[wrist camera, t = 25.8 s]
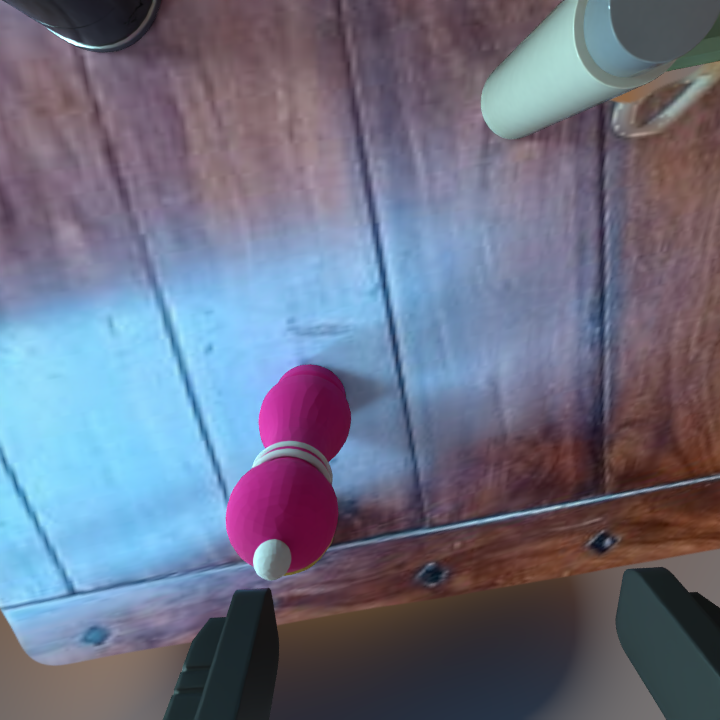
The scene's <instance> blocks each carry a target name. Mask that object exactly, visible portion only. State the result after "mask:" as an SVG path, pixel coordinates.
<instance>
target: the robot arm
mask: <svg viewBox="0 0 720 720" xmlns="http://www.w3.org/2000/svg"><path fill="white" fill-rule="evenodd" d="M2 1H4V2H6V3H7V4H9V5H11V6H12V7H14V8H16V9H17V10H19V11H21V12H22V13H24V14H25V15H27V16H29V17H30V18H32V19H33V20H35V21H37V22H38V23H40V24H42V25H44V26H45V27H47V28H48V29H49V30H50V31H52V32H53V33H54V34H56V35H57V36H59V37H60V38H62V39H64V40H65V41H67V42H69V43H70V44H72V45H75V46H77V47H79V48H82V49H85V50H88V51H93V52H103V53H105V52H114V51H119V50H122V49H124V48H127V47H129V46H131V45H132V44H134V43H135V42H137V41H138V40H139V39H140V38H141V37H142V36H143V35H144V34H145V33H146V32H147V31H148V29H149V28H150V27H151V25H152V23H153V22H154V19H155V17H156V15H157V12H158V10H159V6H160V3H161V0H2ZM616 629H617V634H618V637H619V640H620V643H621V645H622V647H623V650H624V651H625V653H626V655H627V656H628V658H629V660H630V661H631V663H632V665H633V666H634V667H635V669H636V671H637V672H638V674H639V676H640V677H641V679H642V681H643V682H644V684H645V685H646V687H647V689H648V690H649V692H650V694H651V695H652V697H653V699H654V700H655V702H656V703H657V705H658V707H659V708H660V710H661V712H662V713H663V715H664V716H665V718H666V720H720V608H719V607H718V606H716V605H715V604H713V603H712V602H710V601H709V600H708V599H706V598H705V597H703V596H702V595H700V594H699V593H698V592H690V593H689V592H688V591H687V590H686V589H685V588H684V587H683V586H682V584H681V583H680V582H679V581H678V580H677V579H676V577H675V576H674V575H673V574H672V573H671V572H670V571H668V570H667V569H666V568H663V567H654V568H637V569H627V570H626V571H625V572H624V574H623V579H622V585H621V591H620V597H619V602H618V608H617V614H616ZM278 659H279V638H278V631H277V624H276V618H275V612H274V606H273V599H272V594H271V590H270V588H261V589H243V590H236V591H235V593H234V595H233V598H232V601H231V604H230V607H229V610H228V613H227V617H220V618H210V619H209V620H208V622H207V623H206V624H205V625H204V627H203V628H202V629H201V631H200V632H199V633H198V634H197V636H196V637H195V638H194V639H193V641H192V644H191V646H190V649H189V652H188V654H187V657H186V660H185V662H184V665H183V671H182V672H181V673H180V675H179V678H178V681H177V684H176V686H175V689H174V695H172V697H171V699H170V702H169V705H168V707H167V710H166V713H165V715H164V718H163V720H269V717H270V710H271V705H272V698H273V693H274V687H275V681H276V675H277V669H278Z"/></svg>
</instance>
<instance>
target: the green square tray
mask: <svg viewBox="0 0 720 720" xmlns="http://www.w3.org/2000/svg"><path fill="white" fill-rule="evenodd" d="M716 61H720V13H719V15H718V17H717V20H716V21H715V23H714V25H713V26H712V28H711V29H710V31H709V32H708V33H707V35H706V36H705V37H704V38H703V39H702V41H701V42H700V43H699V44H698V45H697V46H695V47H694V48H693V49H692V50H691V51H689V52H688V53H686V54H685V55H683V56H681V57H679V58H678V59H677V60H676V61H675V62H674V63H673V64H672V66H671V67H670V68H669V69H668V70H666V71H671V70H676V69H681V68H685V67H691V66H696V65H701V64H706V63H711V62H716ZM666 71H665V72H666Z"/></svg>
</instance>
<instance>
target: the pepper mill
mask: <svg viewBox="0 0 720 720" xmlns="http://www.w3.org/2000/svg"><path fill="white" fill-rule="evenodd" d="M350 424H351V412H350V408H349V404H348V402H347V400H346V394H345V390H344V386H343V384H342V382H341V381H340V379H339V378H338V377H337V376H336V375H335V374H334V373H333V372H331V371H330V370H328V369H326V368H324V367H321V366H317V365H301V366H298V367H295V368H293V369H291V370H289V371H288V372H287V373H285V374H284V375H283V376H282V378H281V379H280V381H279V382H278V384H276V385H275V386H274V387H273V388H272V389H271V390H270V391H269V392H268V393H267V395H266V396H265V398H264V400H263V403H262V406H261V410H260V414H259V430H260V436H261V440H262V443H263V445H264V447H265V449H264V450H263V451H262V452H261V453H260V454H259V455H258V456H257V458H256V459H255V461H254V463H253V466H252V469H251V470H249V471H248V472H247V473H246V474H245V475H244V476H243V477H241V479H240V480H239V482H238V483H237V485H236V486H235V488H234V489H233V491H232V493H231V496H230V499H229V502H228V505H227V512H226V529H227V533H228V536H229V539H230V543H231V544H232V546H233V547H234V549H235V551H236V552H237V554H238V555H239V556H240V557H241V558H242V559H243V560H244V561H245V562H247V563H248V564H250V565H251V566H253V567H254V568H255V571H256V573H257V574H258V575H259V576H260V577H262V578H263V579H266V580H276V579H278V578H280V577H282V576H283V575H284V574H285V573H289V572H294V571H297V570H300V569H302V568H305V567H307V566H309V565H310V564H311V563H313V562H314V561H316V560H317V559H318V558H319V557H320V556H322V554H323V553H324V552H325V550H326V549H327V547H328V546H329V544H330V543H331V541H332V538H333V536H334V534H335V530H336V526H337V522H338V503H337V497H336V495H335V492H334V489H333V487H332V471H331V467H330V465H329V461H330V460H331V459H332V458H333V457H335V456H336V454H337V453H338V452H339V451H340V449H341V448H342V446H343V445H344V443H345V441H346V439H347V436H348V434H349V429H350Z"/></svg>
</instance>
